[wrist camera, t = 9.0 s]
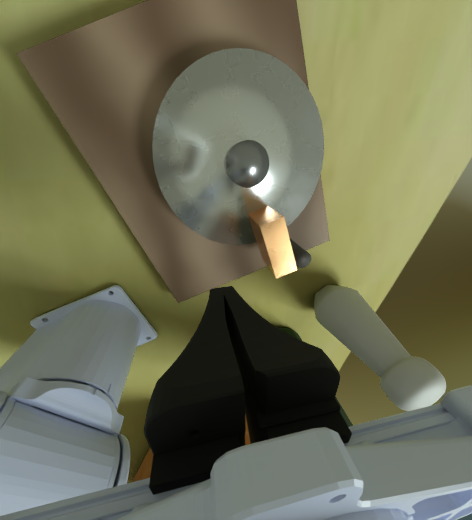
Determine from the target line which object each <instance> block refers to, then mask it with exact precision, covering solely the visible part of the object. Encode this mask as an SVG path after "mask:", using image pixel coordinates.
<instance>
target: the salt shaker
mask: <svg viewBox="0 0 472 520" xmlns="http://www.w3.org/2000/svg"><path fill="white" fill-rule="evenodd" d="M314 310H315V315H316V318H317V320H318V322H319V323H320V324H321V325H322V326H323V327H325V328H326V329H327V330H328V331H329V332H330V333H331V334H333V335H334V336H335V337H336V338H337V339H338V340H339V341H341V342H342V343H343V344H344V345H345V346H346V347H347V348H348V349H349V350H351V351H352V352H353V353H354V354H355V355H356V356H357V357H358V358H360V359H361V360H362V361H363V362H364V363H365V364H366V365H367V366H369V367H370V368H371V369H372V370H373V371H374V372H375V373H376V374H377V375H378V376H380V377H381V379H380V386H381V389H382V390H383V391H384V393H385V394H386V395H387V397H388V398H389V399H390V400H391V401H392V402H393V403H394V404H396V405H397V406H398V407H399V408H400V409H403V410H406V411H412V410H416V409H420V408H424V407H428V406H431V405H432V404H434V403H435V402H436V401H438V399H439V398H440V397H441V396H442V395H443V394H444V392H445V389H446V381H445V379H444V377H443V376H442V374H441V373H440V372H439V371H438V370H437V369H436V368H435V367H434V366H433V365H432V364H430V363H429V362H428V361H426V360H424V359H422V358H419V357H411V356H410V354H409V353H408V352H407V351H406V350H405V348H404V347H403V346H402V345H401V344H400V342H399V341H398V340H397V339H396V338H395V336H394V335H393V334H392V333H391V331H390V330H389V329H388V328H387V327H386V325H385V324H384V323H383V322H382V320H381V319H380V318H379V317H378V316H377V314H376V313H375V312H374V311H373V310H372V308H371V307H370V306H369V305H368V303H367V302H366V301H365V300H364V299H363V297H362V296H361V295H360V294H359V293H358V291H356V290H354V289H351V288H348V287H343V286H339V285H326V286H325V287H323V288H322V289H321V290H319V291H318V292H317V293H316V294H315V298H314Z"/></svg>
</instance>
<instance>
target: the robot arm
mask: <svg viewBox="0 0 472 520" xmlns="http://www.w3.org/2000/svg"><path fill="white" fill-rule="evenodd" d="M110 291H112V292H113V293H111V292H110ZM45 318H47V319H45ZM30 325H31V326H32V327H34V328H35V329H36V330H35V332H34V333H33V334H32V335H31V336H30V337H29V338H28V339H27V340H26V341H25V342H24V343H23V344H22V345H21V347H20V348H19V349H18V350H17V351H16V352H15V353H14V354H13V355H12V356H11V357H10V358H9V359H8V361H7V362H6V363H5V364H4V365H3V366H2V367H1V368H0V520H457V519H459V518H461V517H464V516H466V515H469V514H471V513H472V385H470V386H466V387H462V388H458V389H454V390H452V391H449V392H448V393H446V394H445V395H444V396H443V398H442V399H441V403H440V404H436V405H432V406H428V407H424V408H420V409H416V410H412V411H408V412H404V413H401V414H397V415H393V416H389V417H386V418H381V419H377V420H373V421H369V422H365V423H361V424H358V425H354V426H350V427H348V425H347V424H346V422H345V420H344V419H343V417H342V415H341V413H340V412H339V411H340V409H341V408H340V405H339V403H338V402H337V400H336V398H335V395H336V392H337V388H338V385H339V380H340V375H339V372H338V370H337V369H336V367H335V366H334V364H333V363H332V361H331V360H330V359H329V357H328V356H327V355H326V354H325V353H324V352H323V350H322V349H320V348H318V347H315V346H313V345H310V344H308V343H305V342H303V341H301V340H299V339H297V338H295V337H292V336H290V335H289V334H287V333H285V332H283V331H282V330H280V329H278V328H277V327H275V326H273V325H272V324H270V323H269V322H268V321H266V320H265V319H264V318H262V317H261V316H260V315H259V314H258V313H257V312H255V311H254V310H253V309H252V308H251V307H250V306H249V305H248V304H247V303H246V302H245V301H244V300H243V299H242V297H241V296H240V295H239V294H238V293H237V292H236V290H235V289H234V288H233V287H232V286H229V287H221V288H214V289H211V290H210V295H209V300H208V304H207V307H206V310H205V312H204V315H203V317H202V320H201V322H200V324H199V326H198V328H197V330H196V332H195V333H194V335H193V337H192V338H191V340H190V342H189V343H188V345H187V346H186V348H185V349H184V350H183V352H182V353H181V354H180V356H179V357H178V358H177V360H176V361H175V362H174V363H173V365H172V366H171V367H170V368H169V369H168V370H167V371H166V372H165V373H164V374H163V376H162V377H161V378H160V379H159V380H158V381H157V383H156V386H155V388H154V391H153V394H152V396H151V400H150V403H149V406H148V410H147V416H146V421H145V427H144V433H145V437H146V439H147V441H148V444H149V446H150V448H151V450H152V453H153V461H152V468H151V475H150V478H147V479H143V480H139V481H135V482H131V483H127V480H128V475H129V467H130V445H129V441H128V439H127V438H126V436H124V435H123V434H120V430H121V427H122V423H123V419H124V416H123V415H121V414H119V413H118V412H117V409H118V405H119V402H120V399H121V396H122V392H123V389H124V386H125V383H126V379H127V376H128V373H129V370H130V366H131V363H132V360H133V357H134V353H135V350H136V347H137V346H139V345H142V344H144V343H147V342H149V341H151V340H154V339H156V338H157V335H158V334H157V332H156V331H155V330H154V328H153V327H152V326H151V324H150V323H149V322H148V321H147V319H146V318H145V317H144V316H143V314H142V313H141V312H140V311H139V309H138V308H137V307H136V305H135V304H134V303H133V302H132V300H131V299H130V298H129V297H128V295H127V294H126V293H125V292H124V290H123V289H122V288H121V287H120V286H118V285H114V286H111V287H109V288H106V289H104V290H101V291H99V292H97V293H94V294H92V295H89V296H87V297H84V298H82V299H80V300H77V301H75V302H72V303H70V304H67V305H65V306H62V307H60V308H58V309H55V310H53V311H50V312H48V313H45V314H43V315H41V316H38V317H36V318H34V319H32V320H31V321H30ZM245 414H246V420H247V426H248V432H249V438H250V444H249V445H245V433H246V424H245Z"/></svg>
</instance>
